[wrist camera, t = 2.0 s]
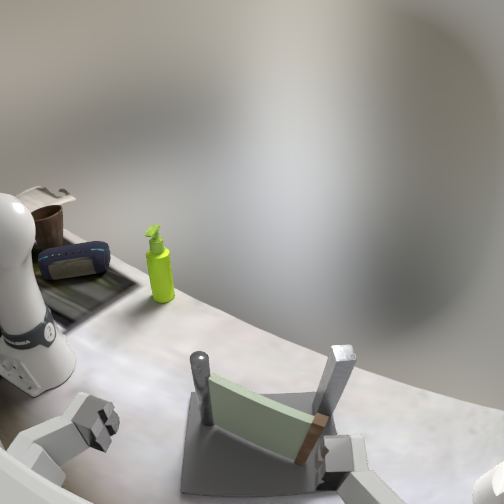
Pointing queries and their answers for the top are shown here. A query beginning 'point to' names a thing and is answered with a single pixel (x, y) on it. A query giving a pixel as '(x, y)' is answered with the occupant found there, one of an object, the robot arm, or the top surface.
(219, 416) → the gate leaf
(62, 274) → the portable speaker
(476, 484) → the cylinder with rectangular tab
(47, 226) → the plant pot
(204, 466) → the gate frame
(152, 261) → the soap dispenser
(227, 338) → the top surface
